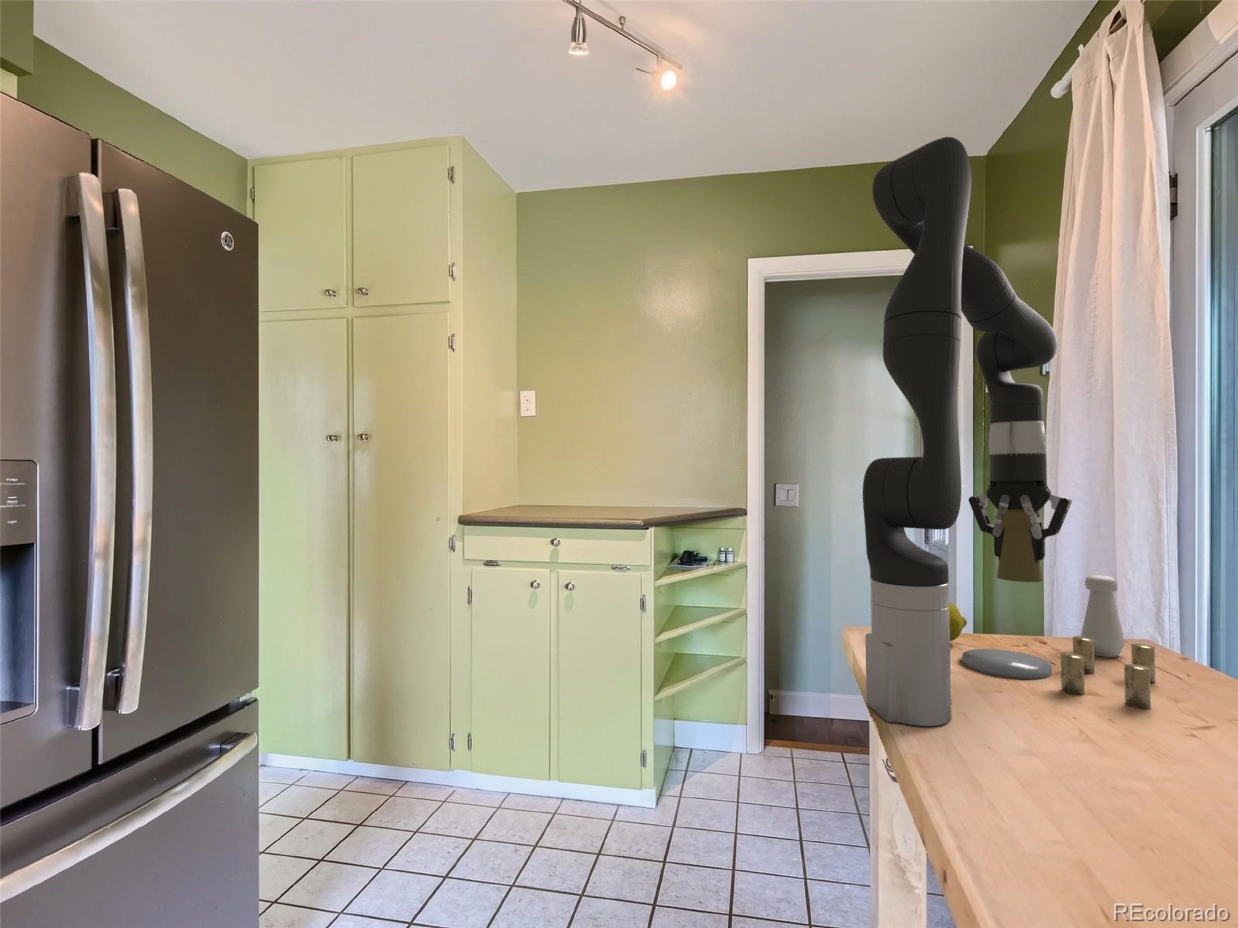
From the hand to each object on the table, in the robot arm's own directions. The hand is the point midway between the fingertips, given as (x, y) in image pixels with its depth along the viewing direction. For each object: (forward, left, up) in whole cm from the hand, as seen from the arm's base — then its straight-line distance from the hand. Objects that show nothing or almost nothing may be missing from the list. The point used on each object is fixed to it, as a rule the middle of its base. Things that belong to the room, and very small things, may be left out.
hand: (1019, 560), depth 95 cm
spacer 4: (+5, -15, -17) cm, 23 cm away
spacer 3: (+14, -6, -17) cm, 23 cm away
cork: (0, 0, -3) cm, 3 cm away
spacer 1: (+1, -9, -17) cm, 19 cm away
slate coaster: (-1, +2, -17) cm, 17 cm away
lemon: (-5, +16, -17) cm, 24 cm away
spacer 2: (+9, -1, -17) cm, 19 cm away
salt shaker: (+19, +7, -17) cm, 26 cm away
